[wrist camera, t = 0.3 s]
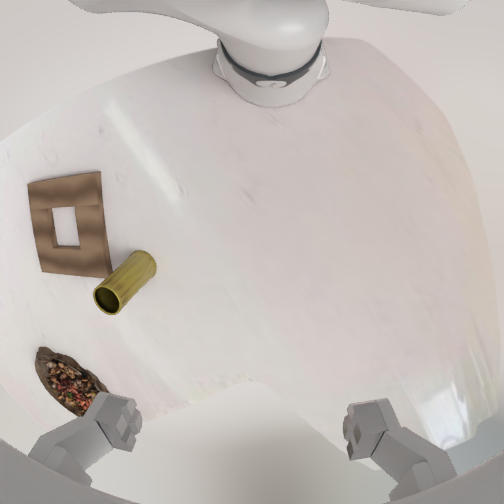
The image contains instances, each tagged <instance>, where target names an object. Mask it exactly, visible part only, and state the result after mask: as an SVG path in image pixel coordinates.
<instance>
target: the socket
mask: <svg viewBox="0 0 504 504" xmlns="http://www.w3.org/2000/svg"><path fill="white" fill-rule="evenodd" d="M27 186H28V196H29V205H30V212H31V219H32V226H33V232H34V237H35V242H36V247H37V252H38V257H39V261H40V265H41V269H42V272H47V273H56V274H65V275H75V276H85V277H95V278H107V277H108V276H109V275H110V274H111V273H112V272H113V271H112V266H111V260H110V254H109V248H108V241H107V234H106V227H105V219H104V210H103V199H102V187H101V172H95V173H87V174H80V175H73V176H67V177H60V178H55V179H49V180H43V181H38V182H33V183H29V184H27ZM71 206H74V207H75V215H76V222H77V229H78V236H79V242H80V246H58V244H57V239H56V233H55V227H54V220H53V213H52V208H58V207H71Z"/></svg>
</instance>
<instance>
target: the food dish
mask: <svg viewBox="0 0 504 504" xmlns="http://www.w3.org/2000/svg"><path fill="white" fill-rule="evenodd" d="M35 367H36V372H37V374H38V376H39V378H40V380H41V382H42V383H43V385H44V387H45V388H46V390H47V391H48V392H49V393H50V394H51V395H52V396H53V397H54V398H55V399H56V400H57V401H58V402H59V403H60V404H61V405H62V406H64V407H65V408H66V409H68V410H69V411H70V412H72V413H73V414H75V415H76V416H78V417H80V416H81V417H83V416H84V415H85V413H86V411H87V410H88V408H89V406H90V405H91V403H92V402H93V400H94V398H95V397H96V395H97V394H98V393H99V392H101V391H102V392H106V393H109V391H108V390H107V388H106V386H105V385H104V384H102V383H101V382H100V381H99V379H98V378H97V377H96V376H95V375H94V374H93V373H92V372H90V371H88V370H85V369H83V368H82V367H81V366H80V365H79V364H78V363H77V362H76V361H75V360H74V359H73V358H71V357H69V356H67V355H62V354H59V353H54V352H52V351H51V350H50V349H49V348H47V347H39V351H38V352H37V356H36V361H35Z"/></svg>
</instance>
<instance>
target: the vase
mask: <svg viewBox="0 0 504 504" xmlns="http://www.w3.org/2000/svg"><path fill="white" fill-rule="evenodd" d="M155 273H156V263H155V261H154V259H153V258H152V256H151V255H150V254H148V253H146V252H144V251H135V252H133V253H132V254H131V255H130V257H129V258H128V259H127V260H126V261H125V262H123V263H122V264H121V265H120V266H119V267H118V268H117V269H116V270H115V271H114V272H112V273H111V274H110V275H109V276H108V277H107V278H106V279H105V280H104V281H103V282H102V283H101V284H100V285H99V286H97V287H96V288H95V289H94V292H93V298H94V301H95V303H96V305H97V306H98V308H99V309H100V310H101V311H103V312H104V313H106V314H108V315H116V314H117V313H119V312H120V311H121V309H122V308H123V307H124V306H125V305H126V304H127V303H128V301H129V300H130V299H131V298H132V297H133V296H134V295H135V294H136V293H137V292H138V290H139V289H140V288H141V287H142V286H144V285H145V284H146V283H147V282H148V280H149V279H151V278H152V277H153V276H154V275H155Z"/></svg>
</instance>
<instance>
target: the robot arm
mask: <svg viewBox="0 0 504 504" xmlns="http://www.w3.org/2000/svg"><path fill="white" fill-rule="evenodd" d="M69 1H70V2H71V3H73V4H74V5H76V6H78V7H79V8H81V9H83V10H85V11H87V12H91V13H97V14H98V13H112V12H144V13H153V14H159V15H165V16H169V17H173V18H176V19H180V20H183V21H186V22H189V23H192V24H195V25H197V26H200V27H202V28H204V29H207V30H209V31H211V32H213V33H215V34H217V35H218V37H219V39H218V40H217V46H218V49H217V53H216V56H215V60H214V64H213V71H214V73H215V74H216V75H217V76H219V77H220V78H222V79H224V80H226V81H227V82H228V83H229V84H230V85H231V86H232V88H233V89H234V90H235V92H236V93H237V94H238V95H239V96H241V97H242V98H243V99H245V100H246V101H248V102H250V103H252V104H255V105H258V106H262V107H271V108H272V107H283V106H287V105H290V104H292V103H294V102H296V101H298V100H300V99H301V98H302V97H304V96H305V95H306V94H307V93H308V91H309V90H310V89H311V87H312V86H313V85H314V84H315V83H316V82H318V81H320V80H322V79H324V78H326V77H327V76H328V75H329V72H330V69H329V65H328V61H327V57H326V53H325V50H324V46H323V43H322V37H323V35H324V32H325V30H326V28H327V25H328V21H329V11H328V7H327V4H326V1H325V0H69ZM344 1H349V2H355V3H360V4H365V5H369V6H373V7H380V8H390V9H398V10H405V11H412V12H420V13H427V14H433V15H438V16H443V15H449V14H452V13H454V12H456V11H458V10H459V9H461V8H462V7H464V6H465V5H466V4H467V3H468V2H469V1H471V0H344ZM136 405H137V404H136V402H135V400H134V399H132V398H127V397H123V396H119V395H114V394H110V393H106V392H102V391H101V392H99V393H98V394H97V395H96V397H95V398H94V400H93V402H92V403H91V405H90V406H89V408H88V410H87V411H86V413H85V415H84V416H83V417H81V416H80V417H78V418H76V419H74V420H72V421H70V422H68V423H66V424H64V425H62V426H60V427H58V428H56V429H54V430H52V431H50V432H48V433H46V434H44V435H42V436H40V438H39V439H38V440H37V442H36V444H35V445H34V447H33V448H32V450H31V451H30V453H29V455H28V456H27V455H25V454H24V453H22V452H20V451H19V450H17V449H15V448H14V447H13V446H11V445H10V444H8V443H6V442H5V441H4V440H2V439H1V438H0V504H139V503H136V502H132V501H129V500H125V499H122V498H119V497H116V496H113V495H110V494H107V493H104V492H102V491H99V490H96V489H94V488H91V487H90V485H91V483H92V479H91V478H90V476H89V475H88V474H87V473H86V472H85V470H86V469H87V468H89V467H90V466H91V465H93V464H94V463H95V462H97V461H98V460H99V459H101V458H102V457H103V456H105V455H106V454H107V453H109V452H110V451H111V450H112V449H113V448H117V449H121V450H125V451H129V452H132V450H133V447H134V445H135V442H136V438H135V435H136V434H137V433H139V432H140V430H141V427H142V416H141V413H140V411H138V410H137V409H136V408H135V407H136ZM347 412H348V415H347V416H346V417H345V418H344V422H343V434H344V439H346V440H347V441H348V442H349V443H348V445H347V451H348V455H349V459H350V460H357V459H363V458H368V457H371V459H372V460H373V461H374V462H375V463H376V464H378V465H379V466H380V467H381V468H382V469H383V470H384V471H385V472H386V473H388V474H389V475H390V476H391V477H392V478H393V479H394V480H396V481H397V482H398V485H397V486H396V487H395V488H394V489H393V490H392V491H391V492H390V494H389V497H390V501H391V502H387V503H384V504H504V450H503V451H501V452H500V453H498V454H497V455H495V456H493V457H492V458H490V459H488V460H487V461H485V462H483V463H481V464H480V465H478V466H476V467H474V468H472V469H470V470H468V471H466V472H464V473H462V474H460V475H457V473H456V471H455V469H454V466H453V464H452V462H451V460H450V458H449V456H448V454H447V452H446V451H444V450H442V449H440V448H439V447H437V446H435V445H434V444H432V443H430V442H429V441H427V440H425V439H424V438H422V437H420V436H419V435H417V434H415V433H414V432H412V431H411V430H409V429H407V428H406V427H401V426H400V423H399V421H398V419H397V417H396V415H395V412H394V410H393V408H392V406H391V404H390V401H389V399H387V398H383V399H378V400H371V401H365V402H359V403H352V404H349V406H348V408H347Z"/></svg>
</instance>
